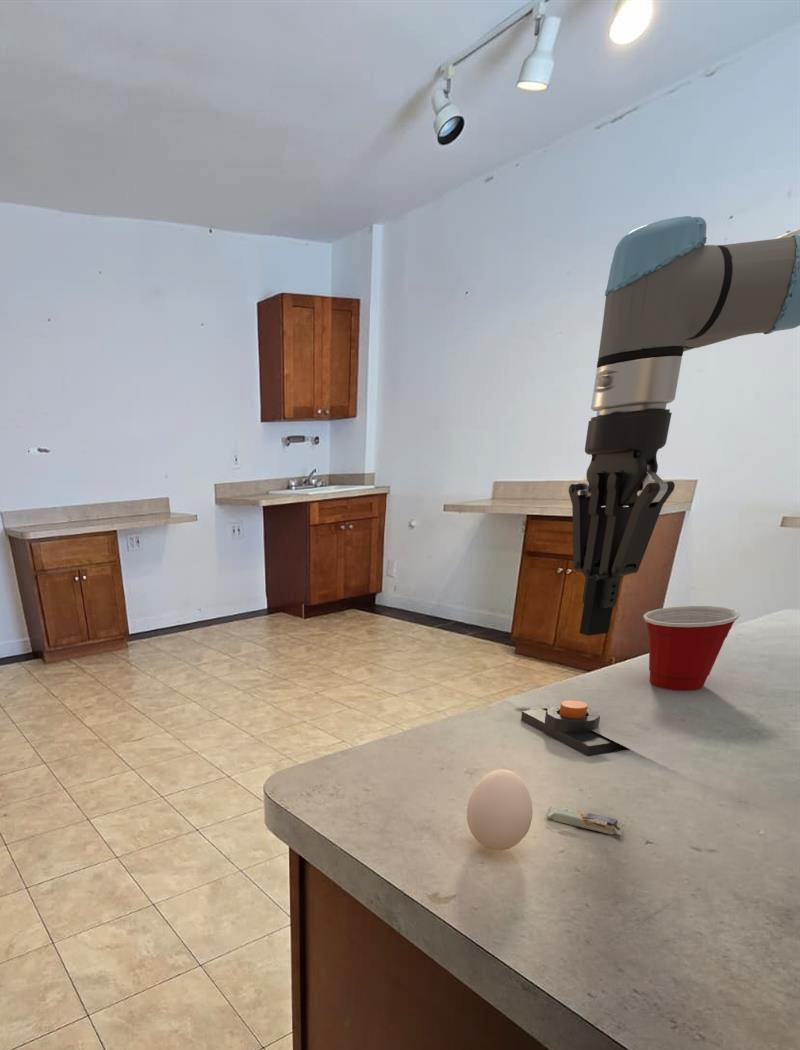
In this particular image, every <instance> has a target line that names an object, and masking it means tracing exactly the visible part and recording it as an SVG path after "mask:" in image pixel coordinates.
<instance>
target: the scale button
mask: <svg viewBox="0 0 800 1050" xmlns="http://www.w3.org/2000/svg"><path fill="white" fill-rule="evenodd" d="M559 706H560V712H559V715H561V716H563V717H568V718H585V717H586V713H587V708H589V706H588V704H587V703H586V702H584V701H580V700H564V701H561V702H560V705H559Z"/></svg>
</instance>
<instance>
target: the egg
mask: <svg viewBox="0 0 800 1050" xmlns="http://www.w3.org/2000/svg"><path fill="white" fill-rule="evenodd" d="M533 814H534V813H533V800H532V798H531V794H530V791H529V788H528V787H527V785H526V783H525V782H524V780H523V778H521V777H520V776H519V775H518V774H516V773H515V772H513V771H512V770H509V769H504V768H503V769H495V770H492V771H490V772H488V773H487V774H485V775H484V776H483V777H482V778H481V779H480V780H479V781H478V782H477V784H476V786H474V788H473V790H472V791H471V794H470V796H469V798H468V803H467V808H466V821H467V826H468V829H469V831H470V833H471V834H472V837H473V838H474V839H475V840H476V842H478V843H479V845H481V846H482V847H484V848H486V849H488V850H490V851H491V850H492V851H495V852H497V851H500V852H501V851H506V850H510V849H512V848H513V847H515V846H516V845H518V844H519V843H520V842H521V841H522V840H523V839H524V838H525V837H526V836H527V834H528V833H529V831H530V828H531V825H532V821H533Z"/></svg>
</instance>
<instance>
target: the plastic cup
mask: <svg viewBox="0 0 800 1050" xmlns="http://www.w3.org/2000/svg"><path fill="white" fill-rule="evenodd" d="M740 616H741V613H740V612H739V611H738V610H736V609H733V608H729V607H722V606H712V605H683V606H682V605H681V606H670V607H663V608H657V609H654V610H650V611H646V613H644V614H643V615H642V617H643V619H644V621H645V622H646V623H645V624H646V628H647V634H648V670H649V683H650V684H651V686H654V687H656V688H659V689H662V690H663V689H664V690H671V691H676V692H677V691H682V692H688V691H689V692H690V691H691V692H692V691H697V690H701V689H702V688H703V687H704V685H705V683H706V680H707V678H708V677H709V676H710V674H711V672H712V669H713V668H714V665H715V662H716V661H717V659H718V656H719V654H720V651H721V649H722V648H723V645H724V643H725V640H726V638H727V637H728V636H729V633H730V630H732V627H733V625H734V623H735V622H736V621H737V620H738V619H739V617H740Z"/></svg>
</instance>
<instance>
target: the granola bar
mask: <svg viewBox="0 0 800 1050" xmlns="http://www.w3.org/2000/svg"><path fill="white" fill-rule="evenodd" d="M545 817H547V818H550V819H552V820H553V821H555V822H558V823H562V824H566V825H570V826H574V827H578V828H581V829H587V830H591V831H595V832H599V833H604V834H608V835H611V836H612V835H613V834H614V835H617V836H618V835H619V836H622V835H623V831H624V828H626V823H622V822H620V821H619V820H618V819H617V818H612V817H609V816H604V815H600V814H596V813H591V812H587V811H582V810H578V809H574V808H569V807H564V806H552V805H551V806H549V807H548V809H547V812H546V814H545Z"/></svg>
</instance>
